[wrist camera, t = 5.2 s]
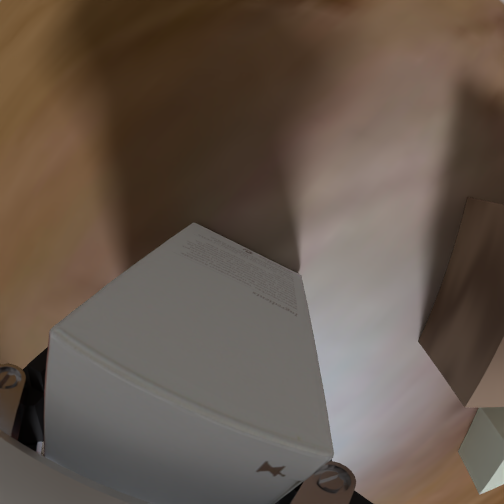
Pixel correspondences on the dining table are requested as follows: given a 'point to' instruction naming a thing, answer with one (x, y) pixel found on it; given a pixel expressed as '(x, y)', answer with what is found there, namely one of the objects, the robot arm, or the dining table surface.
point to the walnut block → (472, 310)
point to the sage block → (485, 449)
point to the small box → (190, 379)
